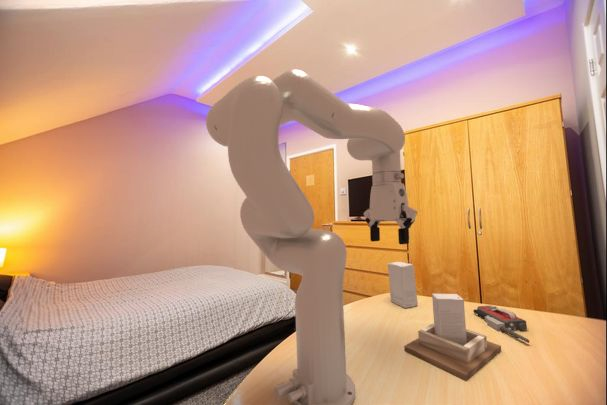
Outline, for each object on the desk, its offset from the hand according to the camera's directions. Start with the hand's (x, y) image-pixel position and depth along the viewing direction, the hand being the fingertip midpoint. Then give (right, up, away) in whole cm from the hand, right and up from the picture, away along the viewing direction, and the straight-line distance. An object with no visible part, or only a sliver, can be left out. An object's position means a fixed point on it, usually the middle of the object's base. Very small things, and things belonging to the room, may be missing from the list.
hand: (388, 242), depth 69 cm
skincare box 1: (+13, -27, +24) cm, 39 cm away
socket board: (+13, -25, -7) cm, 29 cm away
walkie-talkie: (+35, -26, +4) cm, 44 cm away
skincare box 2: (+13, -24, -7) cm, 28 cm away
